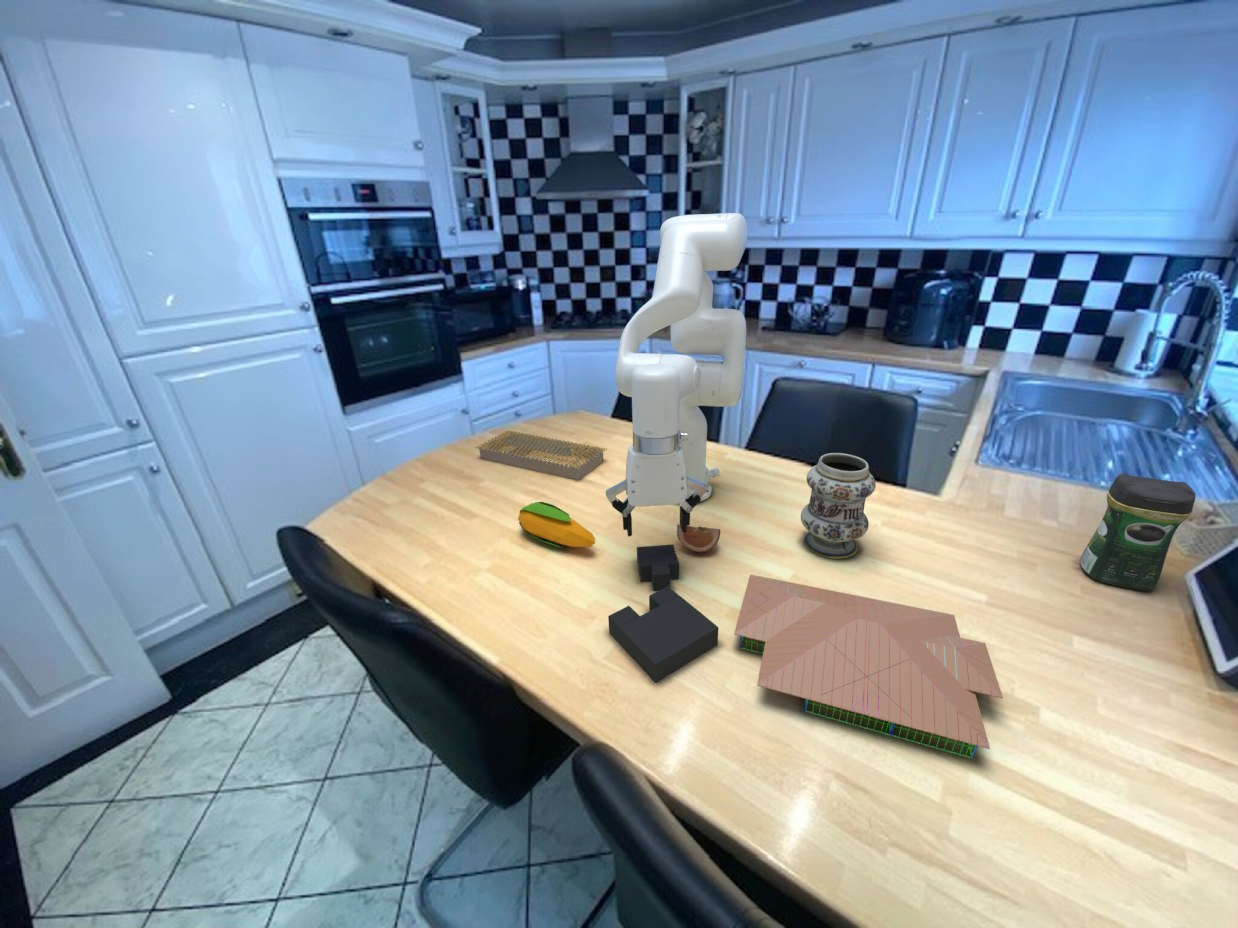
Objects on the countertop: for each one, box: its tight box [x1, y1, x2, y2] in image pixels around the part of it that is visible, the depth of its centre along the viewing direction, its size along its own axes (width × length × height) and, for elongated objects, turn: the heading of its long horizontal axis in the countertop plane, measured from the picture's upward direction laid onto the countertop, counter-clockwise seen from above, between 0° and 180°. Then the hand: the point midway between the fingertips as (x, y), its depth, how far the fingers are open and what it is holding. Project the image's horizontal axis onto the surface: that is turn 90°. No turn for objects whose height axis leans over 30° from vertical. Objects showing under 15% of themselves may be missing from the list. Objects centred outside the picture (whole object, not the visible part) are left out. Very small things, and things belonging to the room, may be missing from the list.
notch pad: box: [607, 586, 719, 683], centre depth 78 cm, size 12×12×4 cm
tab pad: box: [636, 543, 680, 592], centre depth 92 cm, size 7×9×4 cm
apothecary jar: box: [800, 452, 877, 560], centre depth 96 cm, size 12×12×18 cm
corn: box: [517, 501, 596, 549], centre depth 103 cm, size 7×8×20 cm
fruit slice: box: [676, 524, 721, 553], centre depth 99 cm, size 8×7×5 cm
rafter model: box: [474, 430, 608, 481], centre depth 140 cm, size 35×14×6 cm, turn 61°
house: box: [733, 573, 1004, 759], centre depth 71 cm, size 23×33×8 cm
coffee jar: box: [1079, 473, 1196, 591], centre depth 84 cm, size 10×8×19 cm
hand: (656, 530), depth 90 cm, fingers open, 9 cm apart
